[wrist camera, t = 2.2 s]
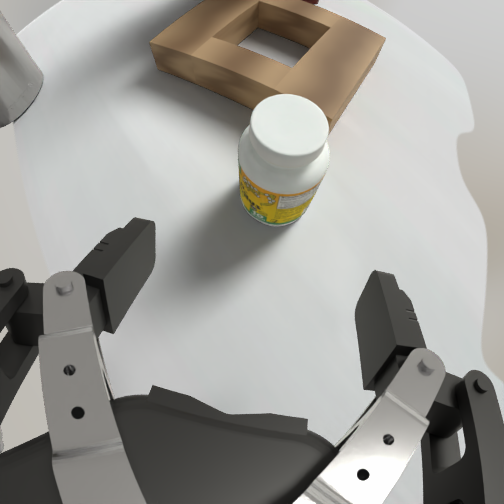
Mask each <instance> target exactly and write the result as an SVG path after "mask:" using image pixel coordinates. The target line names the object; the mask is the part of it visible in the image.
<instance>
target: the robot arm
mask: <svg viewBox="0 0 504 504" xmlns="http://www.w3.org/2000/svg"><path fill="white" fill-rule="evenodd" d="M42 82H43V74H42V72H41V70H40V69H39V67H38V66H37V65H36V63H35V62H34V60H33V59H32V58H31V56H30V55H29V53H28V52H27V50H26V49H25V47H24V46H23V44H22V43H21V41H20V40H19V39H18V37H17V36H16V34H15V33H14V31H13V30H12V28H11V27H10V25H9V24H8V22H7V21H6V19H5V18H4V16H3V14H2V13H1V11H0V128H1V127H4V126H6V125H8V124H9V123H11V122H13V121H14V120H15V119H16V118H18V117H19V116H20V115H21V114H22V113H23V112H24V111H25V110H26V109H27V108H28V107H29V106H30V104H31V103H32V102H33V100H34V99H35V97H36V96H37V94H38V92H39V90H40V88H41V86H42ZM154 264H155V223H154V221H150V220H145V219H141V218H136V217H135V218H133V219H132V220H131V221H130V222H129V223H128V224H127V225H126V226H125V227H124V228H118V229H116V230H114V231H112V232H110V233H108V234H107V235H106V236H105V237H104V238H103V239H102V240H101V241H100V243H98V244H97V245H96V246H95V247H94V250H93V249H92V250H91V252H90V253H89V254H88V255H87V256H86V257H85V258H84V259H83V260H82V261H81V262H80V264H79V265H78V266H77V267H76V268H75V269H74V270H73V271H63V272H59V273H56V274H54V275H52V276H51V277H50V278H49V279H48V280H47V281H46V282H45V283H26V280H25V276H24V274H23V272H22V271H21V270H19V269H15V268H9V269H5V270H2V271H0V332H1V331H2V329H3V328H4V327H5V326H6V328H7V329H8V332H7V334H6V336H5V337H4V338H3V340H2V341H1V343H0V425H1V423H2V421H3V419H4V417H5V415H6V413H7V411H8V409H9V406H10V405H11V403H12V401H13V399H14V397H15V395H16V393H17V391H18V389H19V388H20V385H21V384H22V382H23V380H24V378H25V377H26V375H27V373H28V371H29V369H30V368H31V366H32V364H33V363H34V361H35V359H36V357H37V356H38V354H39V360H40V372H41V382H42V391H43V398H44V405H45V412H46V417H47V424H48V429H49V432H47V433H45V434H43V435H40V436H38V437H36V438H34V439H32V440H30V441H27V442H25V443H23V444H21V445H19V446H17V447H14V448H12V449H10V450H7V451H5V452H3V453H1V452H2V451H3V449H4V444H3V441H2V430H1V427H0V453H1V454H0V504H381V503H382V501H383V500H384V498H385V497H386V496H387V494H388V493H389V491H390V490H391V488H392V487H393V485H394V484H395V482H396V481H397V479H398V478H399V476H400V474H401V473H402V471H403V470H404V468H405V466H406V465H407V463H408V461H409V460H410V458H411V456H412V455H413V453H414V451H415V449H416V448H417V446H418V444H419V442H420V440H421V452H422V468H423V504H504V423H503V419H502V415H501V411H500V407H499V403H498V400H497V396H496V393H495V389H494V386H493V384H492V382H491V380H490V379H489V378H488V377H487V376H486V375H485V374H484V373H482V372H480V371H478V370H471V371H469V372H468V373H467V374H466V375H465V376H464V377H463V378H460V377H457V376H455V375H452V374H450V373H447V372H446V371H445V366H444V364H443V362H442V360H441V359H440V357H439V356H438V355H436V354H435V353H434V352H432V351H430V350H428V349H427V348H426V345H425V341H424V338H423V335H422V332H421V329H420V326H419V323H418V321H417V317H416V314H415V313H414V308H413V305H412V302H411V300H410V299H409V297H408V296H407V295H406V294H405V292H404V291H403V290H399V287H398V285H397V282H396V279H395V276H394V275H393V274H389V273H385V272H381V271H376V270H374V271H373V272H372V273H371V275H370V277H369V279H368V281H367V283H366V286H365V288H364V290H363V292H362V294H361V296H360V298H359V300H358V302H357V305H356V309H355V323H356V330H357V337H358V345H359V353H360V361H361V370H362V379H363V389H364V390H372V391H375V394H376V397H375V398H374V399H373V400H372V401H371V402H370V404H369V405H368V406H367V408H366V409H365V410H364V411H363V413H362V414H361V415H360V417H359V418H358V419H357V420H356V421H355V423H354V424H353V425H352V426H351V428H350V429H349V430H348V431H347V432H346V433H345V435H344V436H343V437H342V438H341V439H340V440H339V441H338V442H337V443H336V444H335V445H332V444H331V443H330V442H329V441H327V440H326V439H324V438H323V437H321V436H320V435H318V434H316V433H314V432H312V431H309V430H307V423H308V419H304V418H297V417H290V416H283V415H277V414H271V413H266V414H235V415H232V414H226V413H223V412H221V411H219V410H217V409H215V408H213V407H211V406H209V405H207V404H205V403H203V402H201V401H199V400H197V399H195V398H193V397H191V396H188V395H185V394H181V393H177V392H174V391H170V390H167V389H164V388H160V387H157V386H154V385H152V388H151V390H150V393H149V395H130V396H124V397H120V398H117V399H115V397H114V394H113V391H112V388H111V384H110V381H109V377H108V374H107V370H106V366H105V362H104V358H103V354H102V350H101V346H100V341H99V338H98V337H99V336H100V334H101V332H102V331H106V332H109V333H112V334H114V333H115V331H116V329H117V328H118V326H119V324H120V323H121V321H122V319H123V318H124V316H125V314H126V313H127V311H128V309H129V308H130V306H131V304H132V303H133V301H134V300H135V298H136V296H137V295H138V293H139V291H140V290H141V288H142V287H143V285H144V284H145V282H146V280H147V279H148V277H149V276H150V274H151V272H152V270H153V268H154ZM462 427H463V432H464V438H465V444H466V449H465V453H464V455H463V457H462V458H461V456H460V448H459V441H458V434H457V431H458V430H460V429H461V428H462Z"/></svg>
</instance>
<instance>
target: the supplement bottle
mask: <svg viewBox="0 0 504 504" xmlns="http://www.w3.org/2000/svg"><path fill="white" fill-rule="evenodd" d="M328 134H329V126H328V121H327V118H326V116H325V115H324V113H323V111H322V110H321V109H320V108H319V107H318V106H317V105H316V104H314V103H313V102H311V101H310V100H308V99H306V98H303V97H301V96H297V95H292V94H279V95H274V96H271V97H268V98H266V99H264V100H263V101H261V102H260V103H259V104H258V105H257V106H256V107H255V108H254V110H253V112H252V115H251V118H250V125H249V126H248V127H247V128H246V129H245V130H244V132H243V134H242V136H241V138H240V141H239V145H238V164H239V182H240V197H241V201H242V204H243V206H244V208H245V210H246V211H247V212H248V213H249V215H251V216H252V217H253V218H255V219H256V220H258V221H259V222H261V223H263V224H266V225H270V226H284V225H288V224H290V223H293V222H295V221H296V220H298V219H299V218H300V217H301V216H302V215H303V214H304V213H305V211H306V210H307V208H308V206H309V205H310V203H311V201H312V199H313V197H314V195H315V193H316V191H317V189H318V187H319V185H320V183H321V181H322V180H323V178H324V176H325V173H326V171H327V169H328V166H329V160H330V152H329V146H328V143H327V141H326V140H327V138H328Z"/></svg>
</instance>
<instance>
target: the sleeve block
mask: <svg viewBox="0 0 504 504" xmlns="http://www.w3.org/2000/svg"><path fill="white" fill-rule="evenodd" d="M257 28H260V29H263V30H266V31H269V32H271V33H274V34H277V35H279V36H282V37H284V38H287V39H289V40H292V41H294V42H297V43H299V44H301V45H304V46H306V47H308V48H310V49H309V50H308V52H307V53H306V54H305V55H304V56H303V57H302V58H301V59H300V60H299V61H298V62H297V63H296V65H295V66H294V67H293V68H291V67H289V66H286V65H284V64H282V63H280V62H277V61H275V60H273V59H270V58H268V57H265V56H263V55H260V54H258V53H255V52H253V51H250V50H248V49H245V48H242V47H240V46H237V45H238V44H239V43H241V42H242V41H243V40H244V39H245V38H246V37H247V36H249V35H250V34H251V33H252V32H253V31H254V30H256V29H257ZM385 40H386V38H385V37H383V36H381V35H379V34H377V33H375V32H373V31H371V30H369V29H367V28H365V27H363V26H361V25H359V24H357V23H355V22H353V21H351V20H349V19H346V18H344V17H342V16H340V15H337V14H335V13H333V12H330V11H328V10H326V9H323V8H321V7H318V6H315V5H313V4H310V3H308V2H305V1H302V0H204V1H202V2H201V3H200V4H198V5H197V6H195V7H194V8H192V9H191V10H190V11H188V12H187V13H185V14H184V15H183V16H181V17H180V18H179V19H177V20H176V21H175V22H173V23H172V24H171V25H170V26H168V27H167V28H166V29H164V30H163V31H162V32H161V33H160V34H158V35H157V36H156V37H155V38H153V39H152V40H151V41H150V42H149V43H150V46H151V49H152V53H153V56H154V59H155V62H156V65H157V68H158V70H161V71H164V72H166V73H169V74H172V75H174V76H177V77H179V78H182V79H185V80H187V81H190V82H192V83H194V84H197V85H199V86H202V87H204V88H206V89H209V90H211V91H213V92H216V93H218V94H220V95H222V96H225V97H227V98H229V99H231V100H233V101H236V102H238V103H240V104H242V105H244V106H246V107H248V108H250V109H252V110H254V108H255V107H256V106H257V105H258V104H259V103H260V102H261V101H263V100H264V99H266V98H268V97H271V96H274V95H279V94H292V95H297V96H301V97H303V98H306V99H308V100H310V101H311V102H313V103H314V104H316V105H317V106H318V107H319V108H320V109H321V110H322V111H323V113H324V115H325V116H326V118H327V121H328V126H329V133H330V132H331V130H332V129H333V127H334V125H335V124H336V122H337V121H338V119H339V118H340V116H341V115H342V113H343V111H344V110H345V108H346V107H347V105H348V104H349V102H350V101H351V99H352V97H353V96H354V94H355V93H356V91H357V90H358V88H359V86H360V85H361V83H362V82H363V80H364V79H365V77H366V76H367V74H368V72H369V71H370V69H371V68H372V66H373V65H374V63H375V61H376V59H377V57H378V55H379V52H380V50H381V48H382V46H383V44H384V42H385ZM328 135H329V134H328Z"/></svg>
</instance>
